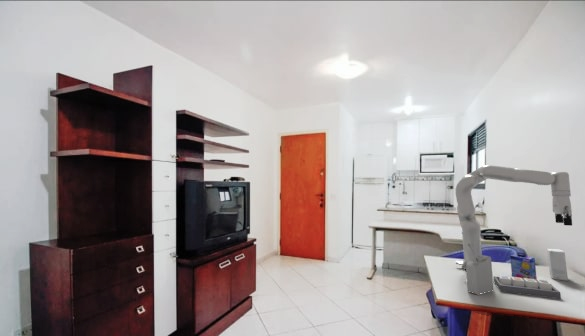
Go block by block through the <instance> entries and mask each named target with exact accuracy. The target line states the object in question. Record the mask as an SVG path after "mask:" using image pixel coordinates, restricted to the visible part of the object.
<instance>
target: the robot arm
mask: <svg viewBox="0 0 585 336" xmlns="http://www.w3.org/2000/svg"><path fill="white" fill-rule="evenodd" d="M488 179H489V180H496V181H504V182H510V183H527V184H528V183H529V184H535V185H537V186H550V188H551V196H552V203H551V204H552V212H553V213H554V217H555V223H556V224H563V225H564V226H573V220H572V219H573V217H572V216H573V215H572V212H573V211H572V204H571V203H572V202H571V199H570V197H571V196H572V194H571V183H570V174H569V172H566V171H555V172H554V171H553V172H548V171H542V170H541V171H540V170H532V169H531V170H530V169H525V168H523V169H522V168H517V167H516V168H515V167H507V166H500V165H492V164H491V165H489V164H488V165H487V164H486V165H482V166H479V168H476V169H475V170H473V171H471V172H470V173H468V174H466V175H464V176H462V178H461V179H460V180H459V181H458V183H457V184H456V186H455V198H456V203H457V206H456V211H457V215H458V219H459V224H460V227H461V232H462V247H463V248H462V249H463V260H461V261H459V260H455V264H456V265H459V266H461V269H463V268H464V269H466V265H467V263H468V262H469V261H471V260H472V257H473V253H472V251H471V249H470V247H469V246H468V244H470V245H471V247H472V248H473V249H474V252H475V256H477V255H483V254H482V244H481V239H482V237H481V230H482V229H481V225H480V223H479V222H478V221H477V218H476V208H475V205H474V201H473V197H472V190H473V189H474V188H475V187H477V185H479V184H481V183H482V182H484V181H486V180H488ZM464 269H463V270H464Z"/></svg>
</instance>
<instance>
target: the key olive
mask: <svg viewBox="0 0 585 336" xmlns="http://www.w3.org/2000/svg"><path fill="white" fill-rule="evenodd" d="M523 279H524V284H525V285H526V286H527V287H529V288H538V282H537V280H534V279H528V278H523Z"/></svg>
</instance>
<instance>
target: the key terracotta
mask: <svg viewBox="0 0 585 336" xmlns="http://www.w3.org/2000/svg"><path fill="white" fill-rule="evenodd" d="M510 278H511V282H512V283H513V284H514V285H515V286H521V287H525V286H524V280H523V279H522V278H519V277H513V276H510Z"/></svg>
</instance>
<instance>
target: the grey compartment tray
mask: <svg viewBox="0 0 585 336" xmlns="http://www.w3.org/2000/svg"><path fill="white" fill-rule="evenodd" d="M492 277H493V283H494V282H495V283H494V284H495V285H497V286H498V287H497V286H496V287H497V288H498V290H499V289H500V290H499V292H503V291H505V292H504V293H512V294H521V295H528V296H536V297H542V298H544V297H545V298H551V299H552V298H553V299H559V300H561V299H562V296H561V292H560V291H559V290H558V289H557V288H556V287H554V286H553V285H552V290H546V289H541V288H540V287H539V286H538V288H529V287H527V286H526V285H525V284H524V286H525V287H521V286H515V285H514V284H513V283H512V282H511V285H504V284H501V283H500V282H499V276H495V275H494V276H493V275H492ZM509 278H510V279H511V277H509ZM523 280H524V279H523Z"/></svg>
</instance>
